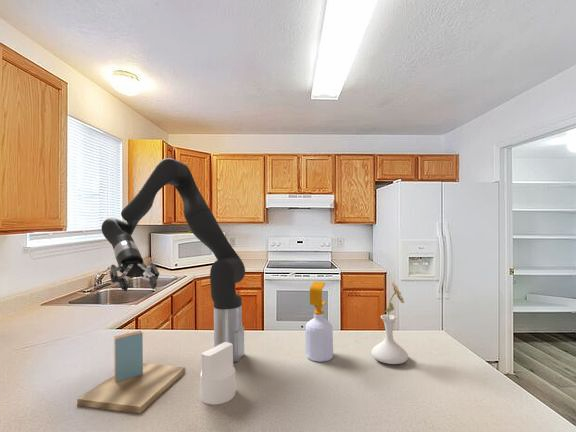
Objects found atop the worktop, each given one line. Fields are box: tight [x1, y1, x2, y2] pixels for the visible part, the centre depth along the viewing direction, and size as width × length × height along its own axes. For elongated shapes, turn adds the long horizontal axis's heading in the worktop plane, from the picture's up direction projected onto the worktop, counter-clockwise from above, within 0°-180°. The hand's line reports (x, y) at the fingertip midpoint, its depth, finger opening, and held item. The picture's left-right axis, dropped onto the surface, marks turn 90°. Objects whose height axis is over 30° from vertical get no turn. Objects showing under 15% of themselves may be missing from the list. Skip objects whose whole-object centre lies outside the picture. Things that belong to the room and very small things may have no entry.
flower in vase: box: [371, 280, 409, 365], centre depth 99 cm, size 13×11×25 cm
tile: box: [113, 330, 144, 382], centre depth 87 cm, size 2×7×12 cm, turn 128°
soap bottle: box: [305, 281, 334, 363], centre depth 102 cm, size 9×9×25 cm
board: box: [76, 362, 186, 414], centre depth 84 cm, size 18×20×2 cm
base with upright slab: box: [199, 342, 237, 405], centre depth 80 cm, size 9×9×12 cm
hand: (140, 288), depth 96 cm, fingers open, 8 cm apart
